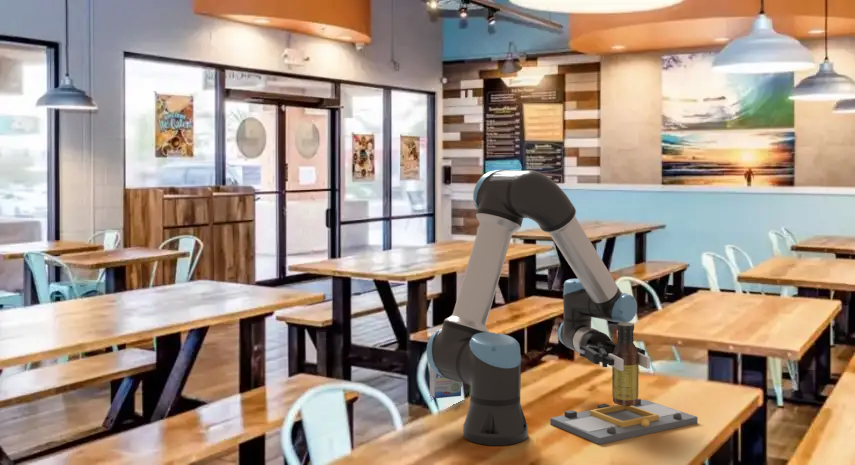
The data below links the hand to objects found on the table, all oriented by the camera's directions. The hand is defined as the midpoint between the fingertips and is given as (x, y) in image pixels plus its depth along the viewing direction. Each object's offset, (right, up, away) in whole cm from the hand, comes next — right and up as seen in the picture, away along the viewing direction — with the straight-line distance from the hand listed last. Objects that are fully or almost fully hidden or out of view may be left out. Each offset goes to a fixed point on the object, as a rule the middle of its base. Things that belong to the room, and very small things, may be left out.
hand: (635, 364), depth 210 cm
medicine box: (-44, -14, +33) cm, 57 cm away
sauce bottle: (-1, -11, +6) cm, 12 cm away
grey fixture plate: (-1, -15, +6) cm, 17 cm away
